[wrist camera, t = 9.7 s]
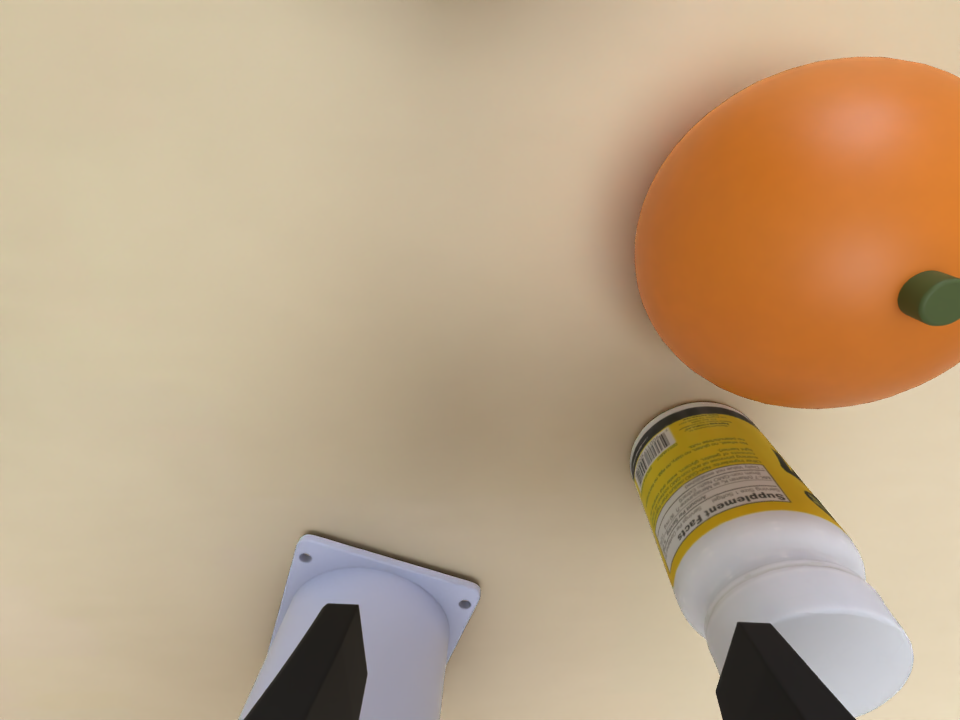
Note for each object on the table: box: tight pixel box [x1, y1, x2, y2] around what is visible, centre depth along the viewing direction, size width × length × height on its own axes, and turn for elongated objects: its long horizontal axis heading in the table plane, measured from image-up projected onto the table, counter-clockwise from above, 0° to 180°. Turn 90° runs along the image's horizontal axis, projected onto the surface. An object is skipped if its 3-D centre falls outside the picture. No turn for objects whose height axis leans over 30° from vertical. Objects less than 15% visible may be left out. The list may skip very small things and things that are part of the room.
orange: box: [635, 57, 960, 409], centre depth 12 cm, size 8×8×8 cm
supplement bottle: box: [630, 402, 914, 718], centre depth 15 cm, size 5×5×8 cm
